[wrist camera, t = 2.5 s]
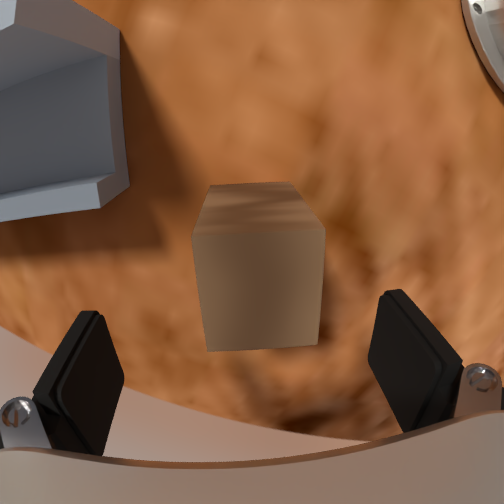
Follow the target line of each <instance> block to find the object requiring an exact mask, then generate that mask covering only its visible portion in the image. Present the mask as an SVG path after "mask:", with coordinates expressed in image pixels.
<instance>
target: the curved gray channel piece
mask: <svg viewBox="0 0 504 504" xmlns="http://www.w3.org/2000/svg"><path fill="white" fill-rule="evenodd" d="M128 187H130V182H129V175H128V166H127V158H126V148H125V138H124V127H123V114H122V99H121V79H120V30H119V29H118V28H116V27H115V26H113V25H112V24H110V23H109V22H107V21H105V20H104V19H102V18H101V17H99V16H97V15H96V14H94V13H92V12H91V11H89V10H88V9H86V8H84V7H83V6H81V5H79V4H77V3H76V2H74V1H72V0H0V222H3V221H9V220H15V219H22V218H28V217H35V216H42V215H49V214H57V213H64V212H72V211H80V210H88V209H97V208H101V207H103V206H104V205H105V204H107V203H108V202H109V201H111V200H112V199H113V198H115V197H116V196H117V195H119V194H120V193H121V192H123V191H124V190H125V189H127V188H128Z"/></svg>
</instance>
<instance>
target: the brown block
mask: <svg viewBox="0 0 504 504" xmlns="http://www.w3.org/2000/svg"><path fill="white" fill-rule="evenodd" d="M325 236H326V229H325V228H324V226H323V225H322V224H321V222H320V221H319V219H318V218H317V217H316V215H315V214H314V213H313V211H312V210H311V209H310V207H309V206H308V205H307V203H306V202H305V201H304V199H303V198H302V197H301V196H300V194H299V193H298V192H297V190H296V189H295V188H294V186H293V185H292V184H291V183H290V182H265V183H244V184H226V185H211V186H210V188H209V190H208V193H207V196H206V198H205V201H204V203H203V206H202V209H201V211H200V214H199V217H198V219H197V222H196V225H195V227H194V230H193V233H192V236H191V239H192V248H193V256H194V264H195V271H196V279H197V286H198V293H199V300H200V307H201V314H202V320H203V327H204V333H205V340H206V346H207V352H215V351H240V350H258V349H273V348H286V347H298V346H309V345H317V343H318V333H319V323H320V311H321V299H322V286H323V272H324V255H325Z"/></svg>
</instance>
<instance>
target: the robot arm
mask: <svg viewBox="0 0 504 504" xmlns="http://www.w3.org/2000/svg"><path fill="white" fill-rule="evenodd" d="M461 2H462V9H463V14H464V17H465V21H466V25H467V28H468V31H469V34H470V36H471V39H472V42H473V44H474V46H475V48H476V50H477V53H478V55H479V57H480V59H481V61H482V62H483V64H484V66H485V68H486V69H487V71H488V73H489V74H490V76H491V77H492V78H493V80H494V81H495V83H496V84H497V85H498V87H499V88H500V89H501V90H502V91H503V92H504V0H461ZM462 361H463V360H462V359H461V358H460V356H459V355H458V354H457V353H456V351H455V350H454V349H453V348H452V347H451V345H450V344H449V343H448V342H447V340H446V339H445V338H444V337H443V336H442V335H441V333H440V332H439V331H438V330H437V329H436V327H435V326H434V325H433V324H432V323H431V322H430V320H429V319H428V318H427V317H426V316H425V315H424V314H423V312H422V311H421V310H420V309H419V308H418V307H417V306H416V305H415V303H414V302H413V301H412V300H411V299H410V298H409V297H408V296H407V294H406V293H405V292H404V291H403V290H402V289H396V290H388V291H385V292H384V294H383V295H381V296H380V298H379V302H378V308H377V314H376V319H375V324H374V330H373V335H372V339H371V344H370V349H369V353H368V362H369V365H370V367H371V369H372V371H373V373H374V375H375V377H376V379H377V381H378V383H379V385H380V387H381V389H382V391H383V393H384V395H385V397H386V399H387V401H388V403H389V405H390V407H391V409H392V411H393V413H394V415H395V417H396V419H397V421H398V423H399V425H400V427H401V429H402V431H403V432H404V433H403V434H399V435H395V436H391V437H388V438H384V439H380V440H376V441H372V442H368V443H364V444H360V445H355V446H350V447H345V448H340V449H335V450H330V451H324V452H318V453H312V454H305V455H298V456H291V457H283V458H273V459H262V460H250V461H234V462H162V461H144V460H133V459H123V458H113V457H105V456H102V455H103V453H104V449H105V445H106V442H107V438H108V434H109V431H110V427H111V424H112V420H113V417H114V413H115V409H116V407H117V403H118V400H119V397H120V393H121V390H122V387H123V384H124V373H123V370H122V367H121V365H120V362H119V359H118V356H117V354H116V351H115V348H114V345H113V342H112V339H111V336H110V333H109V330H108V327H107V324H106V321H105V318H104V316H103V315H100V314H99V312H98V311H81V312H80V313H79V315H78V316H77V318H76V319H75V321H74V323H73V324H72V326H71V327H70V329H69V330H68V332H67V334H66V335H65V337H64V338H63V340H62V342H61V343H60V345H59V347H58V348H57V350H56V352H55V353H54V355H53V357H52V358H51V360H50V362H49V363H48V365H47V367H46V369H45V370H44V372H43V374H42V376H41V377H40V379H39V381H38V383H37V385H36V386H35V388H34V390H33V394H34V396H33V398H32V400H31V399H29V398H26V397H16V398H13V399H11V400H9V401H7V402H6V403H5V404H4V405H3V406H2V408H1V410H0V504H504V388H503V387H502V381H501V377H500V375H499V374H498V373H497V372H496V370H495V369H493V368H491V367H490V366H488V365H485V364H480V363H475V364H471V365H468V366H467V367H466V368H464V366H463V365H462Z"/></svg>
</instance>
